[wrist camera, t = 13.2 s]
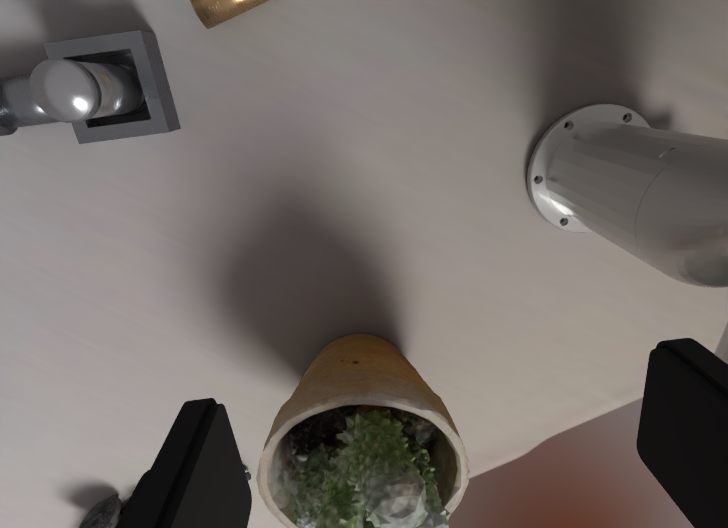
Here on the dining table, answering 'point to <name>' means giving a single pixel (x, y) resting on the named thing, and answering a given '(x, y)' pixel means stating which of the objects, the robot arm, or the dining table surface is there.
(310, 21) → the dining table surface
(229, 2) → the bronze tee
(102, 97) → the silver capped cylinder
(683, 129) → the dining table surface
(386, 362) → the potted plant
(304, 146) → the dining table surface
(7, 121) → the grey framed piece
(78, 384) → the dining table surface
